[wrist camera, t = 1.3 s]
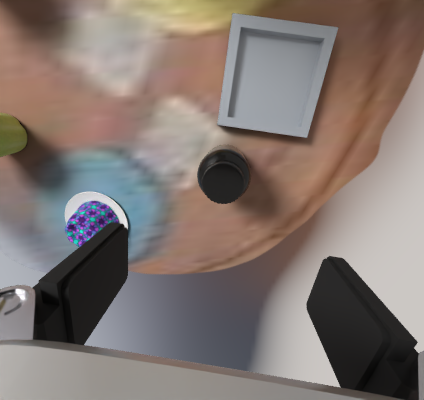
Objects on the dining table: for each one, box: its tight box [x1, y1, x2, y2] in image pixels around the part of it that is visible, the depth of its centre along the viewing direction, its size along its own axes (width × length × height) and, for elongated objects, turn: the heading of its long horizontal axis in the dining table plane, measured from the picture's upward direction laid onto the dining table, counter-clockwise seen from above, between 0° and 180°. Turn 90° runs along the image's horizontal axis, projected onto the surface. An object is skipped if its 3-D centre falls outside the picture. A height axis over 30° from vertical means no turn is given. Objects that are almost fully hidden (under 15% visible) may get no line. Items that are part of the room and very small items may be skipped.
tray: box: [217, 13, 338, 138], centre depth 28 cm, size 13×13×2 cm
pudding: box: [65, 192, 128, 247], centre depth 37 cm, size 12×12×5 cm
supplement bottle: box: [197, 145, 251, 204], centre depth 28 cm, size 7×7×12 cm
